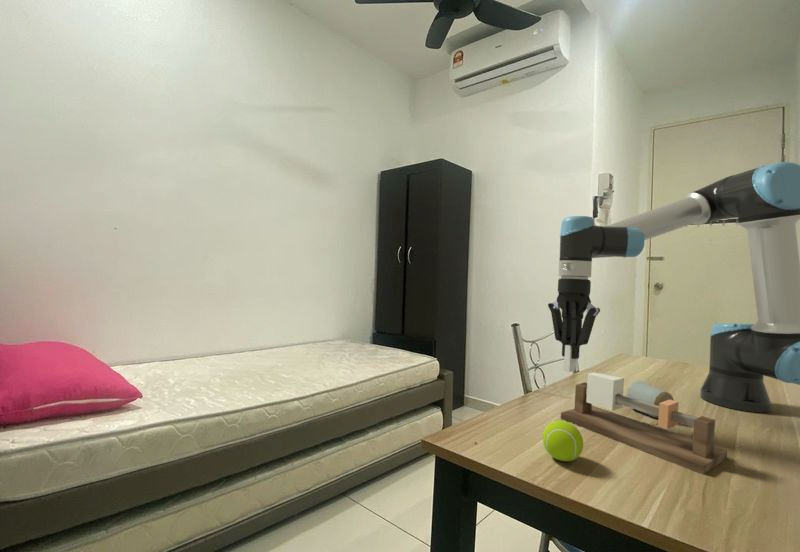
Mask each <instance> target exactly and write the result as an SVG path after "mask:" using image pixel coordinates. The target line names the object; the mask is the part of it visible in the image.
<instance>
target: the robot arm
mask: <svg viewBox="0 0 800 552" xmlns="http://www.w3.org/2000/svg"><path fill="white" fill-rule="evenodd" d="M730 219H737V221H738V222H737V223H738V225H739V226H740V227H742V228H744V229H745V230H746V231H747V238H748V239H747V240H748V247H749V255H750V256H749V257H750V265H751V272H752V282H753V290H754V296H755V297H754V298H755V306H756V307H755V308H756V315H757V321H756V322H755V323H748V324H747V323H715V324H714V325H713V326H712V327H711V332H710V336H709V337H710V340H709V341H710V344H709V347H710V348H709V349H710V350H709V368H708V369H709V370H708V371H709V372H708V374H707V375H706V378H705V379H704V382H703V383H702V386H701V387H700V395H699V396H700V398H701V399H702V400H704V401H706V402H708V403H711V404H713V405H717V406H721V407H723V408H724V407H725V408H728V409H732V410H733V409H734V410H738V411H742V412H743V411H744V412H751V413H769V412H771V411H772V410H771V409H772V402H771V400H770V397H769V393H768V391H767V387H766V385H765V382H764V376H765V377H769V378H772V379H774V380H778V381H781V382H783V383H787V384H793V385H797V386H800V253H799V244H798V236H797V228H796V223H797V222H798V221H799V220H800V164H798V163H795V162H790V161H782V162H776V163H771V164H765V165H762V166H759V167H757V168H753V169H750V170H747V171H743V172H740V173H737V174H732V175H730V176H726V177H724V178H722V179H719V180H717V181H715V182H712V183H710V184H709V185H706V186H704V187H700V188H699V189H697V190H695V191H692V192H689V193H687V194H685V195H684V196H683V197H682V199H679V200H677V201H676V200H675V201H674V202H671V203H668V204H665V205H662V206H659V207H657V208H654V209H650V210H647V211H645V212H642V213H640V214H636V215H633V216H631V217H629V218H628V217H627V218H625V219H622V220H620V221H617V222H614V223H611V224H607V225H605V226H604V225H603V226H602V225H596V223H595V219H594V218H593V217H592V216H587V215H574V216H567V217H565V218H563V219H562V222H561V226H560V231H559V232H560V234H559V239H560V240H559V261H558V276H559V277H560V278H558V280H557V293H558V295H557V297H556V300H555V301H554V302H549V303H548V304H547V306H548V309H549V311H550V313H551V320H552V325H553V326H552V327H553V331H554V332H553V333H554V339H555V340H556V341H558V342H560V343H561V345H562V346H561V347H562V348H561V356H562V357H564V358H563V359H564V360H563V371H564V372H567V373H570V372H572V373H573V372H575V371H576V369H577V368H576V365H577V364H576V363H577V360H578V359H579V358H580V348H581V346H583V345H588V343H589V341H590V337H591V334H592V330H593V327H594V324H595V320H596V318H597V316H598V314H599V313H601V309H600V307H596V306H594V305H593V304H592V301H591V299H590V294H591V286H592V285H591V284H592V282H591V281H592V280H591V279H589V278H591V277H592V269H593V268H592V265H593V259H598V258H599V259H600V258H602V259H603V258H616V257H618V258H635V257H638V256H639V255H640V254H641V253H642V252H643V250H644V247H645V242H646V240H647V241H648V240H650V239H653V238H656V237H658V236H661V235H663V234H664V235H665V234H666V233H670V232H673V231H676V230H679V229H681V228H684V227H687V226H690V225H694V226H695V225H697V226H700V225H704V224H707V223H710V222H716V221H720V220H730ZM585 312H586V314H585V317H584V313H585ZM583 318H584V320H583Z"/></svg>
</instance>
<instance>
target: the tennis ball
mask: <svg viewBox="0 0 800 552" xmlns="http://www.w3.org/2000/svg"><path fill="white" fill-rule="evenodd" d="M542 442H543V446H544V448H545V450H546V452H547V453H548V454H549V455H550V456H551V457H552V458H554V459H555V460H558V461H561V462H572V461H574V460H576V459H578V458H579V457H580V455H581V454H582V452H583V449H584V439H583V436H582V434H581V432H580V430H579V429H578V428H577V426H575V424H573V423H570V422H568V421H565V420H554V421H551V422H550V423H549V424H547V425H546V427H545V428H544V430H543V433H542Z"/></svg>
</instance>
